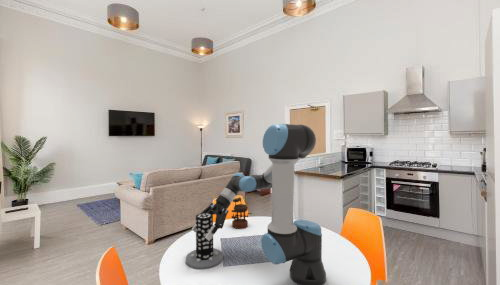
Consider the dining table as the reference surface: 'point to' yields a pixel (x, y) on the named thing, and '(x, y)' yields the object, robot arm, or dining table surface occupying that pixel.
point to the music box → (240, 209)
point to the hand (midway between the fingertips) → (199, 235)
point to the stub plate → (204, 264)
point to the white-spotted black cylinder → (202, 228)
